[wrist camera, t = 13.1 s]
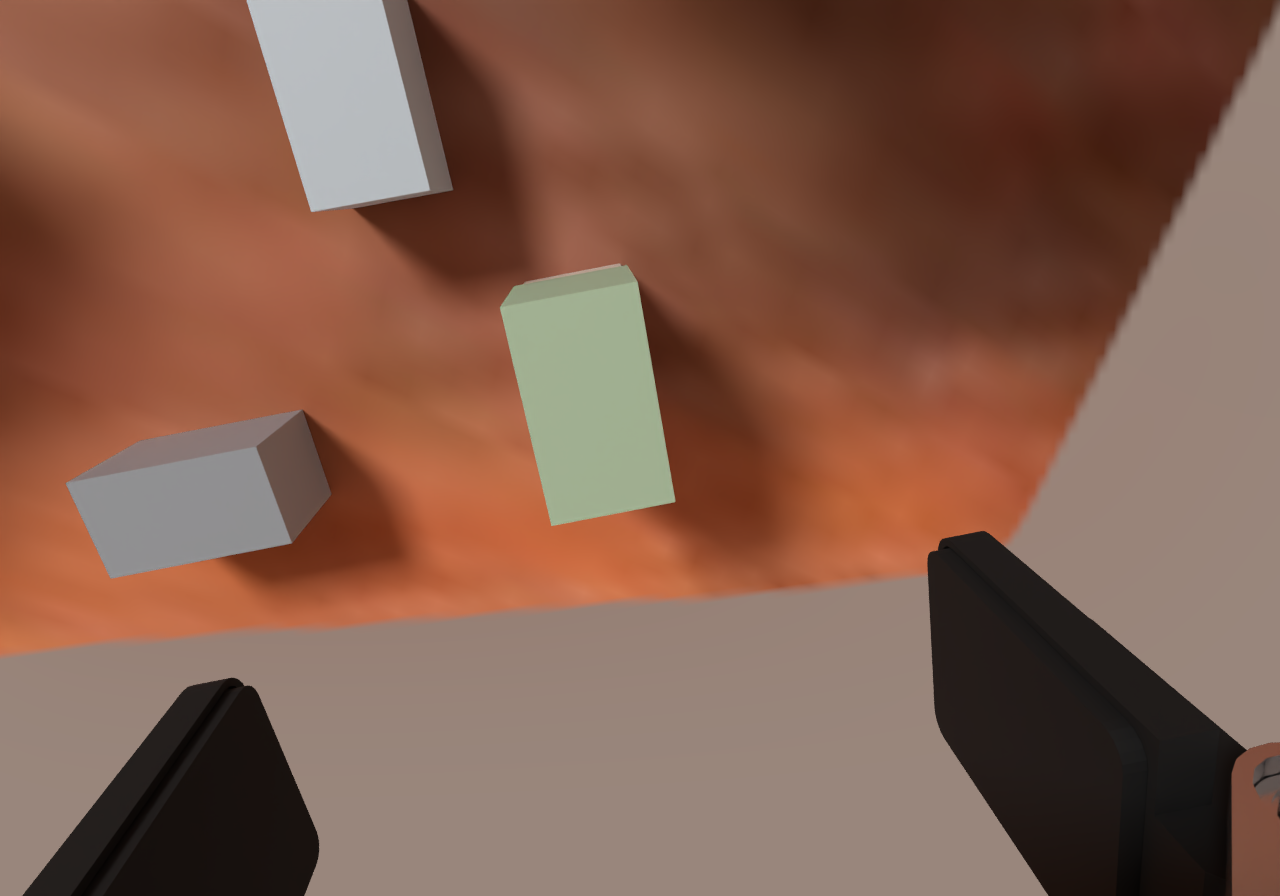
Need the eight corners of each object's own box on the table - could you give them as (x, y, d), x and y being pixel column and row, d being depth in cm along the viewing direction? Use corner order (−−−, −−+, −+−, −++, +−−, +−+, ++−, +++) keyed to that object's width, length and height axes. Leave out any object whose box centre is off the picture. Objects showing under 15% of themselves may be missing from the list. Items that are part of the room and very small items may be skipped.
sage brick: (514, 285, 26) (499, 307, 21) (626, 264, 26) (637, 281, 21) (556, 470, 28) (551, 525, 24) (659, 450, 28) (675, 502, 24)
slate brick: (176, 523, 33) (110, 578, 29) (141, 439, 32) (65, 483, 27) (332, 493, 33) (291, 543, 29) (303, 409, 32) (255, 446, 27)
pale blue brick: (297, 9, 27) (237, -28, 23) (405, -10, 27) (369, -52, 23) (353, 208, 30) (311, 211, 25) (453, 190, 30) (430, 190, 25)
